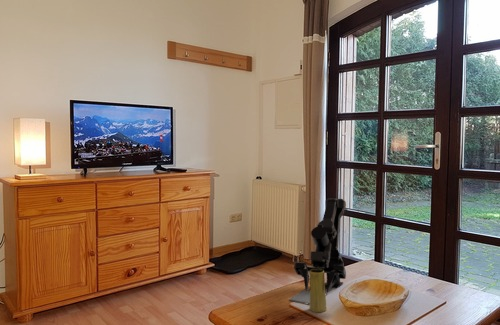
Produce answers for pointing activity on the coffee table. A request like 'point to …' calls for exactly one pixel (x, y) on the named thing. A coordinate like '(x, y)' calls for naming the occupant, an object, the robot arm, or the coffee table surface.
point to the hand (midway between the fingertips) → (316, 291)
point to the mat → (302, 297)
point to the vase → (317, 291)
